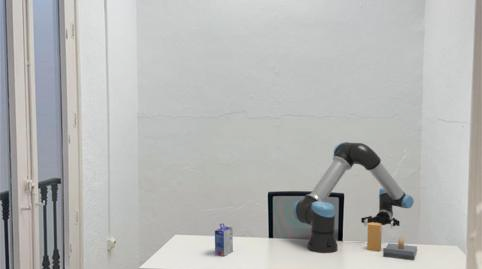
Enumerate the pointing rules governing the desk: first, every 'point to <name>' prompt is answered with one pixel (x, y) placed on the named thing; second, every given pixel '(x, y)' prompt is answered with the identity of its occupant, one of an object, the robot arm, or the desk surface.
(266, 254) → the desk surface
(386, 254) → the plate
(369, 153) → the robot arm
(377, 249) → the orange tan rectangular block
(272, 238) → the desk surface
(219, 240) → the ink cartridge box
